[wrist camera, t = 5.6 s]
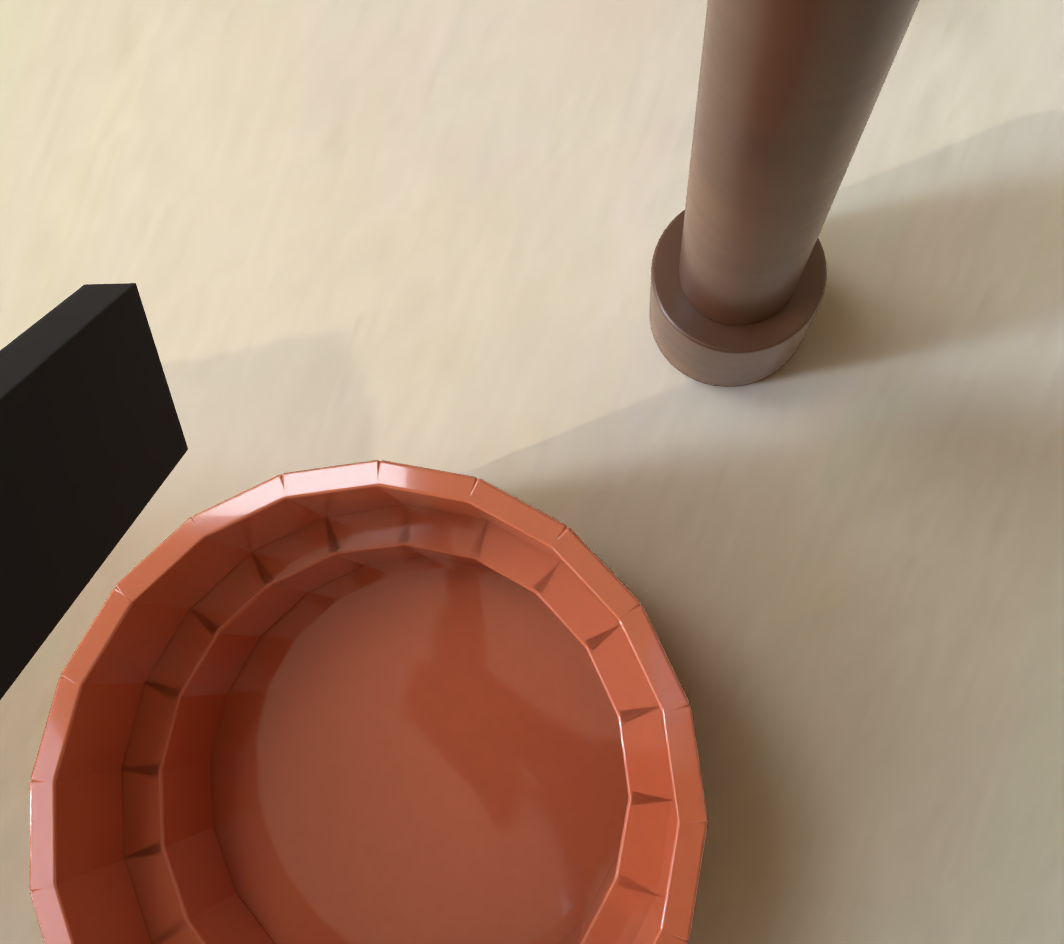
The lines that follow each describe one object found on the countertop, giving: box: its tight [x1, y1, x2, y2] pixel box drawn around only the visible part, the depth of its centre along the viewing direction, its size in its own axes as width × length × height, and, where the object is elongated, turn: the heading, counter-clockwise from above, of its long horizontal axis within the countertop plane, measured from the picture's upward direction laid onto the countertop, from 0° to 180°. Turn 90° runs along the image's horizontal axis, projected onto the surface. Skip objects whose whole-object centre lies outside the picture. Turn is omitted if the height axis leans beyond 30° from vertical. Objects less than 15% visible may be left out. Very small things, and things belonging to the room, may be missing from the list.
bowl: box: [30, 460, 708, 944], centre depth 22 cm, size 14×14×6 cm
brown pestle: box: [650, 0, 919, 386], centre depth 19 cm, size 4×4×16 cm
